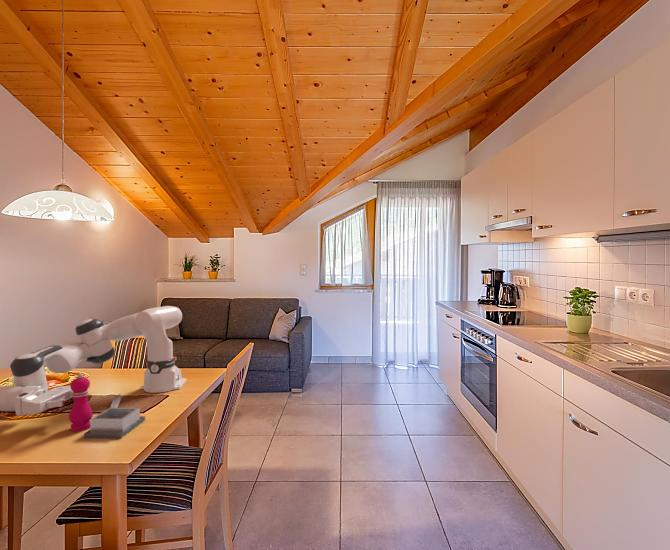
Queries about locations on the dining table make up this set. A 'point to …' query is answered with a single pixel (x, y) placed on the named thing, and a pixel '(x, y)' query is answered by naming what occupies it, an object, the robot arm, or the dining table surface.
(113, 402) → the adjustable wrench
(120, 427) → the socket stand
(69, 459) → the dining table surface
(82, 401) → the pepper mill
